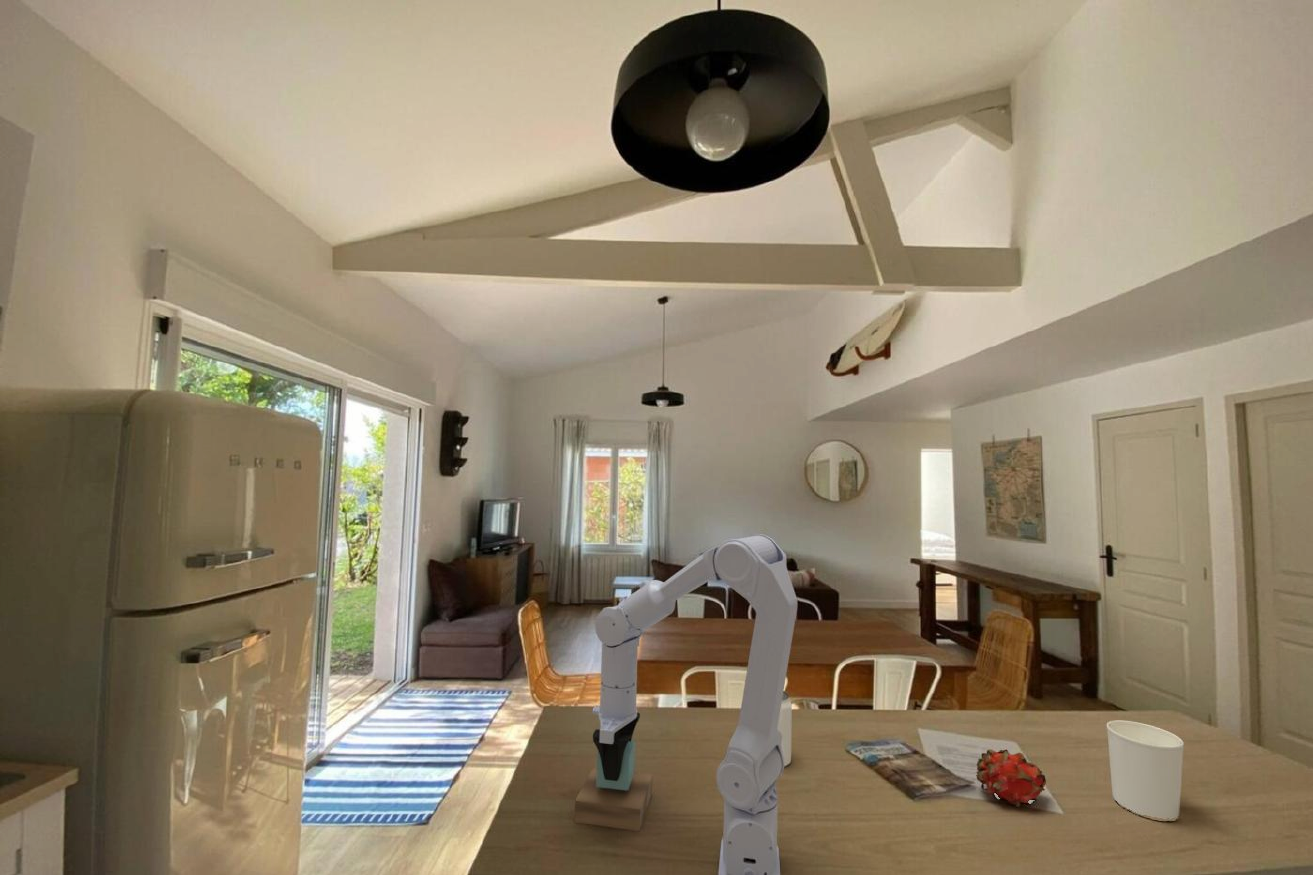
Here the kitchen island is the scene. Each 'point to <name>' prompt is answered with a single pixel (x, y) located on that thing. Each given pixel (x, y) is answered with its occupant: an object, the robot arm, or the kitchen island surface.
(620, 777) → the teal cube
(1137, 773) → the candle holder
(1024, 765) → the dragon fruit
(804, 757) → the kitchen island surface
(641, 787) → the walnut block
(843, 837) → the kitchen island surface
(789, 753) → the can
